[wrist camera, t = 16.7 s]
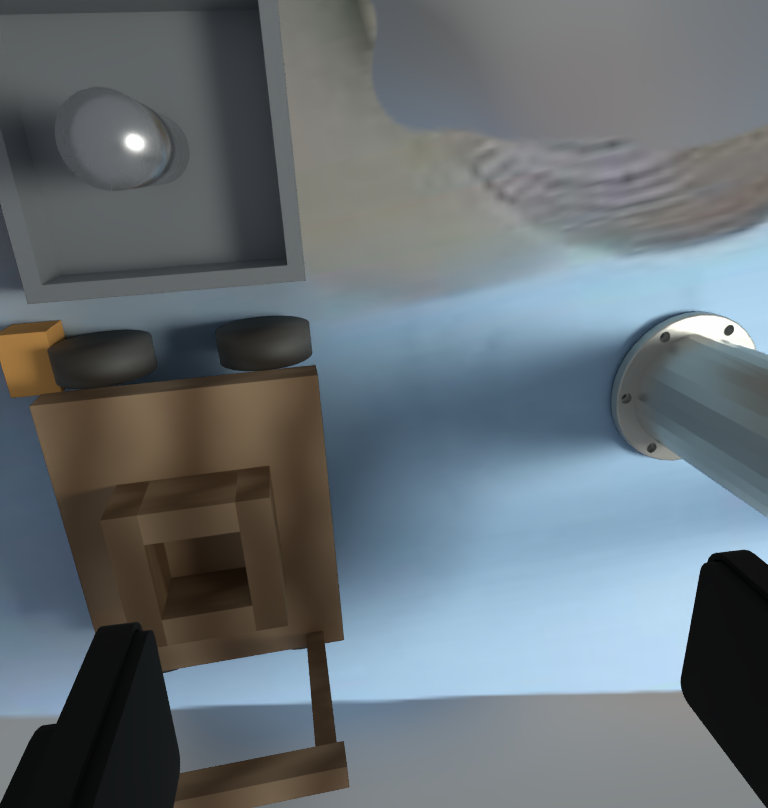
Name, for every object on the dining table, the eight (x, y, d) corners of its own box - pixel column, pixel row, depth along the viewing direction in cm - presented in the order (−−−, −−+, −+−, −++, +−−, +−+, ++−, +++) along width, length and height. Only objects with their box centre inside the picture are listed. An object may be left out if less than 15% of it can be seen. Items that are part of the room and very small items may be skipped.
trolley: (306, 312, 42) (333, 410, 25) (334, 591, 51) (369, 804, 34) (64, 335, 40) (-88, 459, 23) (138, 622, 49) (68, 868, 32)
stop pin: (183, 110, 36) (147, 85, 25) (194, 182, 37) (165, 188, 26) (112, 113, 35) (43, 88, 24) (126, 186, 37) (67, 193, 26)
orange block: (60, 320, 40) (45, 331, 37) (75, 377, 41) (61, 392, 39) (11, 324, 39) (-8, 336, 37) (28, 382, 41) (11, 397, 38)
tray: (273, -7, 35) (274, -30, 31) (301, 269, 41) (305, 280, 37) (-22, -2, 33) (-63, -27, 29) (53, 289, 39) (27, 304, 35)
